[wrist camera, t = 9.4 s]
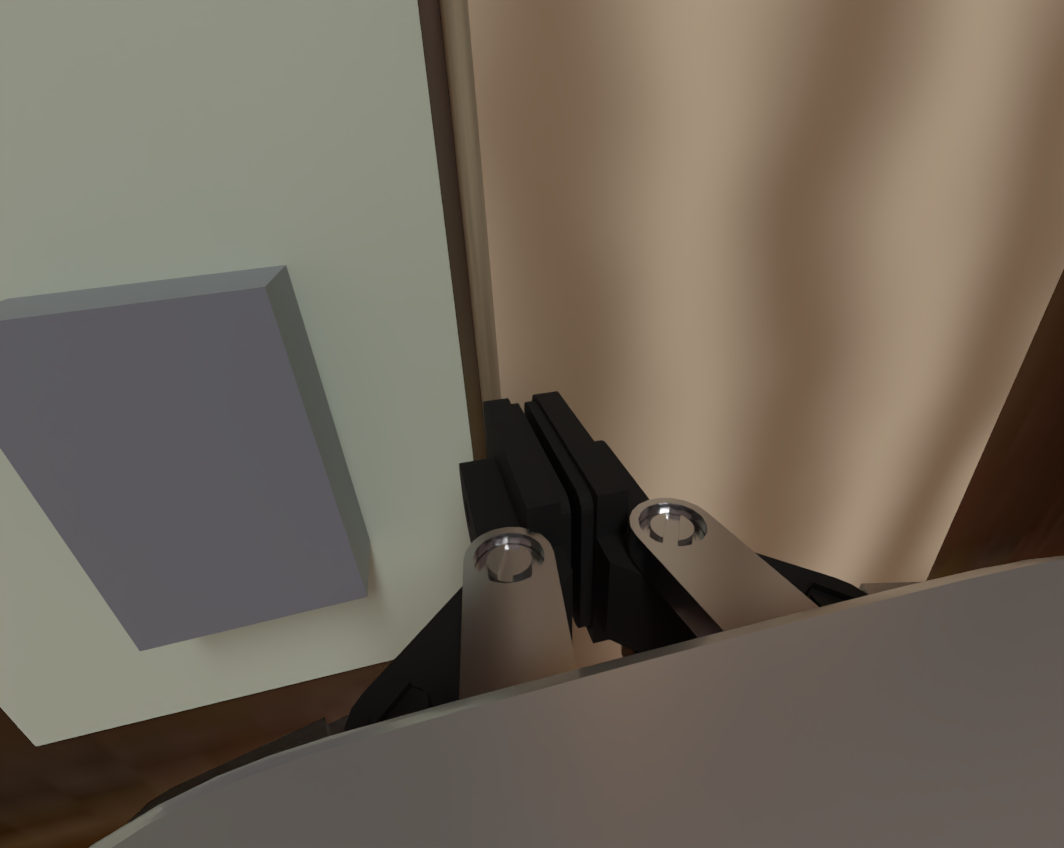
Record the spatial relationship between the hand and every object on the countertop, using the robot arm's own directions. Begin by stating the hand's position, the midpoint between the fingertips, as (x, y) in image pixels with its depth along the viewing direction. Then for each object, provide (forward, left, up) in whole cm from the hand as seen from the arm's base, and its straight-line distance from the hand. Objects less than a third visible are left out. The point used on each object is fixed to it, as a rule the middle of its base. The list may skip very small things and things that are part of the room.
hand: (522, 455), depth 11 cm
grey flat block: (+8, +1, -2) cm, 8 cm away
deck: (-8, 0, -5) cm, 9 cm away
